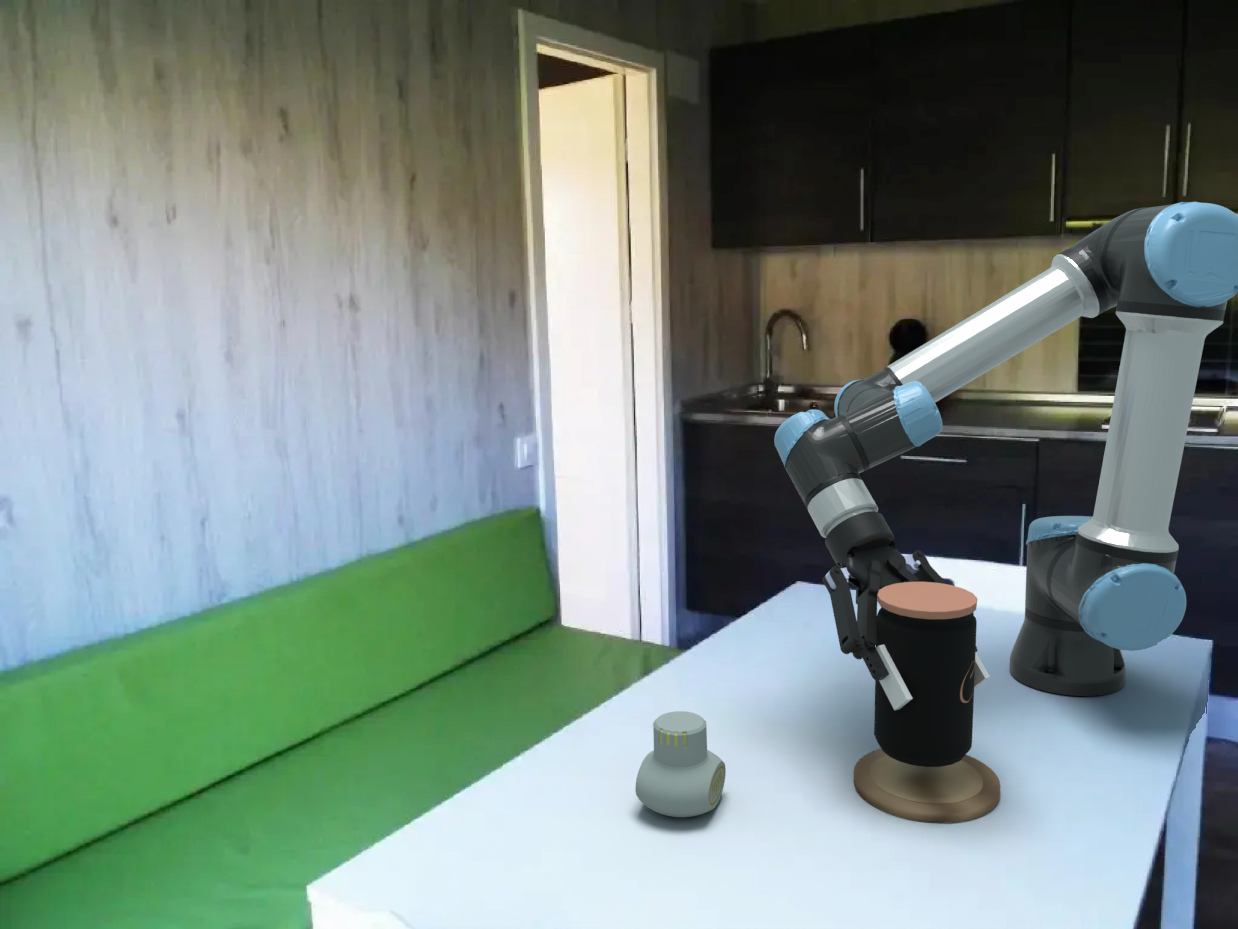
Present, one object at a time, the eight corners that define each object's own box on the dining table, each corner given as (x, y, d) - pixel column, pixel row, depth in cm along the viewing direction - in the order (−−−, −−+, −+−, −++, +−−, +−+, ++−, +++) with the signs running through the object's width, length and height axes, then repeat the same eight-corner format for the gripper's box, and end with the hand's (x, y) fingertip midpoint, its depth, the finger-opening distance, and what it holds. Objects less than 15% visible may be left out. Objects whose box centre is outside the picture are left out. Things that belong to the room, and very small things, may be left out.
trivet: (968, 751, 128) (968, 741, 128) (1024, 819, 112) (1024, 807, 112) (838, 757, 128) (838, 747, 127) (875, 827, 112) (876, 815, 112)
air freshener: (662, 777, 124) (660, 697, 123) (730, 787, 122) (728, 706, 120) (630, 823, 114) (627, 737, 113) (703, 835, 112) (701, 747, 110)
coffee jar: (977, 773, 113) (984, 613, 110) (875, 766, 115) (878, 609, 112) (966, 730, 123) (971, 582, 120) (872, 724, 125) (875, 579, 122)
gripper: (909, 529, 134) (999, 686, 123) (759, 556, 123) (843, 730, 113) (940, 496, 128) (1038, 657, 118) (786, 522, 118) (878, 701, 107)
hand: (943, 693), depth 115 cm, fingers closed on coffee jar, 11 cm apart
